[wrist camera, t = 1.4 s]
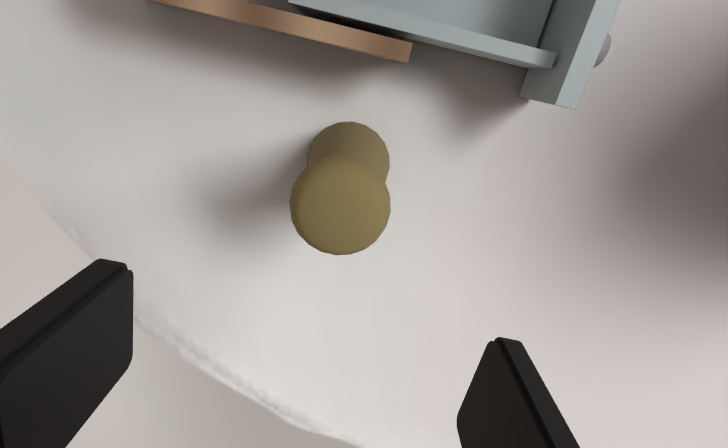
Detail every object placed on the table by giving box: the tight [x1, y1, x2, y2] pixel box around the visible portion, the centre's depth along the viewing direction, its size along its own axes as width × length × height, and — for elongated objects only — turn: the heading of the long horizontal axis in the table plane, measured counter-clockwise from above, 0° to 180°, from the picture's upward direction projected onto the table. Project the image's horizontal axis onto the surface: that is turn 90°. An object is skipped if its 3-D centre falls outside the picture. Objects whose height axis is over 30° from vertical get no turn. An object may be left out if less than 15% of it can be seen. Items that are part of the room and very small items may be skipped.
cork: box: [289, 122, 390, 255], centre depth 24 cm, size 6×6×11 cm
